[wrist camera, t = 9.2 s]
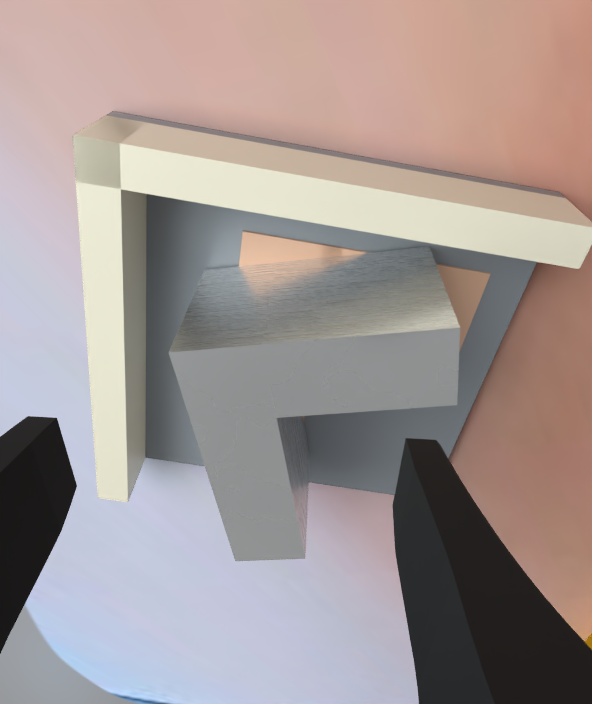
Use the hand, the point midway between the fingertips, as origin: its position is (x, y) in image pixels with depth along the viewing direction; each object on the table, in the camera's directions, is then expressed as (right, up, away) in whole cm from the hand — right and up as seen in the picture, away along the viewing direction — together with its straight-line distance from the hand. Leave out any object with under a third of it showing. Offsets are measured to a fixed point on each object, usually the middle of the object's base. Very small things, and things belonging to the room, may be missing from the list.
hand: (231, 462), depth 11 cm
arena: (+2, +3, +9) cm, 10 cm away
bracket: (+3, +2, +9) cm, 10 cm away
